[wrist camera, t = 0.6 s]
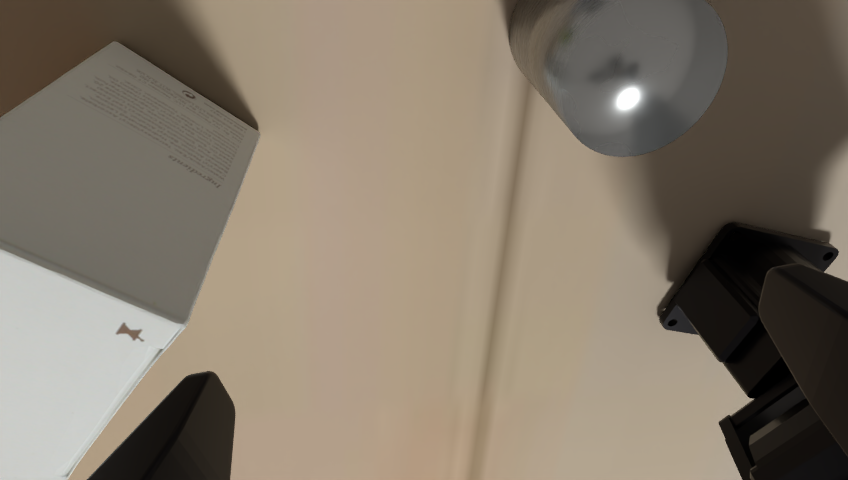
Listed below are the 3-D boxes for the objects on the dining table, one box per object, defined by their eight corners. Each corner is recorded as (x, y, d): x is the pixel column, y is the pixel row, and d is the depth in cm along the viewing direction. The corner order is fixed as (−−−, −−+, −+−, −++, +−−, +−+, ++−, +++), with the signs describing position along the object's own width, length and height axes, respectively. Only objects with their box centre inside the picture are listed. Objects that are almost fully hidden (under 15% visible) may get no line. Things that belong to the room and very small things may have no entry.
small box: (117, 34, 17) (-127, 185, 9) (266, 131, 20) (192, 324, 11) (32, 202, 20) (-211, 436, 12) (170, 268, 23) (53, 504, 14)
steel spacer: (653, -20, 18) (762, 17, 13) (596, 100, 20) (670, 170, 15) (538, -60, 17) (609, -36, 12) (491, 72, 19) (535, 137, 14)
